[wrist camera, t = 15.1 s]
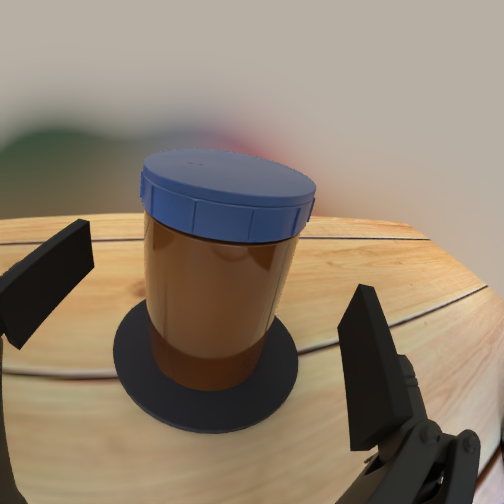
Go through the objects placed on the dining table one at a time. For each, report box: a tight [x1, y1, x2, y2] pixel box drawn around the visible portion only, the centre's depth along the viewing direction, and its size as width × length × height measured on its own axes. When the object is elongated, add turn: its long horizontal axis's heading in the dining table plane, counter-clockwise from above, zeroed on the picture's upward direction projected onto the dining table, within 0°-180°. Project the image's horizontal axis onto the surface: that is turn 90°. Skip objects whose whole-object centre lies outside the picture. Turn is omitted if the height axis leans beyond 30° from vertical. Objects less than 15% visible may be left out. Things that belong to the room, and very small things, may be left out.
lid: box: [140, 149, 316, 242], centre depth 12 cm, size 8×8×2 cm
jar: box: [144, 208, 301, 391], centre depth 15 cm, size 8×8×12 cm
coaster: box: [113, 299, 298, 434], centre depth 18 cm, size 13×13×1 cm
